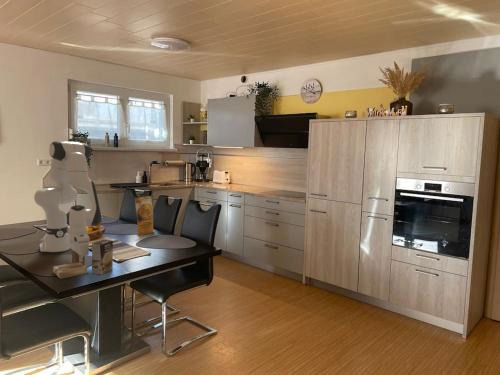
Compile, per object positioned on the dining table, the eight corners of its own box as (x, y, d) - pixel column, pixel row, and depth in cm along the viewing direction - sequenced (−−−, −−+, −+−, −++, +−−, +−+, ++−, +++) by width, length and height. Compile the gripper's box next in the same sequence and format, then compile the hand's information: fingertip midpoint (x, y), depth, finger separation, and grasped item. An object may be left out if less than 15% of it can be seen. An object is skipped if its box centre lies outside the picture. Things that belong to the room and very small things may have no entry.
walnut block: (72, 265, 205) (71, 251, 204) (81, 263, 208) (81, 249, 207) (75, 267, 201) (75, 253, 200) (84, 265, 204) (84, 251, 204)
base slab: (53, 271, 193) (53, 266, 193) (79, 267, 202) (79, 261, 202) (60, 278, 185) (60, 272, 184) (87, 273, 193) (87, 267, 193)
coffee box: (101, 274, 192) (101, 244, 191) (91, 273, 194) (91, 243, 192) (113, 269, 201) (113, 240, 199) (103, 267, 203) (103, 239, 201)
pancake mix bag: (131, 235, 274) (131, 197, 271) (150, 230, 291) (150, 194, 287) (138, 236, 271) (138, 198, 268) (156, 231, 287) (157, 195, 284)
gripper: (65, 232, 208) (66, 256, 210) (78, 240, 193) (78, 266, 195) (77, 230, 212) (77, 254, 214) (90, 238, 197) (91, 263, 199)
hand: (78, 260), depth 204 cm, fingers closed on walnut block, 5 cm apart
